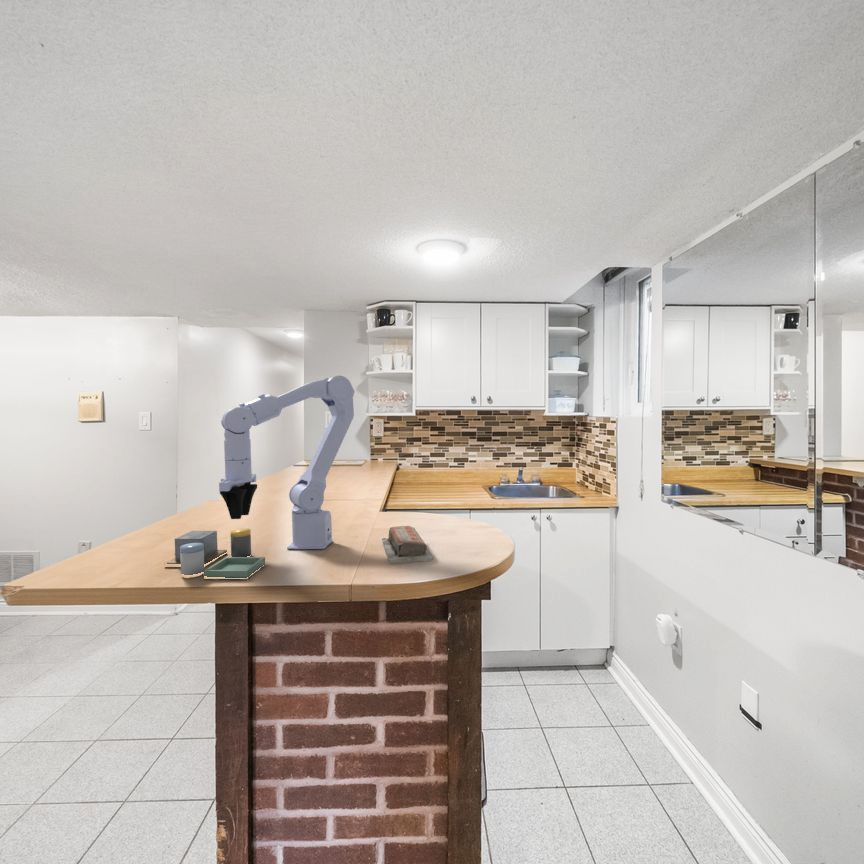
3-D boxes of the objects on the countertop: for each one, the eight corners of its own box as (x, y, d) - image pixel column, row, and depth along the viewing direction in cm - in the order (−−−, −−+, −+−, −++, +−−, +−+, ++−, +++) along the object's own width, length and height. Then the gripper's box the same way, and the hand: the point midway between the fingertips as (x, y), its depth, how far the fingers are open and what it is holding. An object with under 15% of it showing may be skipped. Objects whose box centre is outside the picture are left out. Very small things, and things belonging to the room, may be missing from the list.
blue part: (208, 571, 99) (207, 542, 99) (197, 578, 95) (196, 548, 95) (188, 571, 100) (187, 542, 99) (176, 578, 95) (175, 548, 95)
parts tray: (265, 565, 103) (265, 557, 103) (247, 579, 94) (246, 570, 94) (225, 565, 103) (225, 557, 103) (203, 579, 94) (203, 570, 94)
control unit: (227, 553, 112) (226, 529, 112) (204, 567, 102) (203, 540, 102) (190, 553, 112) (189, 529, 112) (164, 567, 102) (163, 540, 102)
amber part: (254, 553, 112) (253, 528, 111) (246, 559, 107) (245, 532, 107) (236, 553, 112) (235, 528, 112) (227, 559, 108) (226, 532, 107)
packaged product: (381, 525, 119) (419, 523, 121) (381, 544, 119) (419, 541, 121) (389, 544, 102) (433, 541, 104) (389, 566, 102) (433, 562, 104)
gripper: (236, 456, 116) (237, 510, 117) (204, 462, 102) (207, 524, 102) (263, 456, 116) (265, 510, 116) (236, 462, 101) (238, 524, 102)
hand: (240, 516), depth 109 cm, fingers open, 3 cm apart
